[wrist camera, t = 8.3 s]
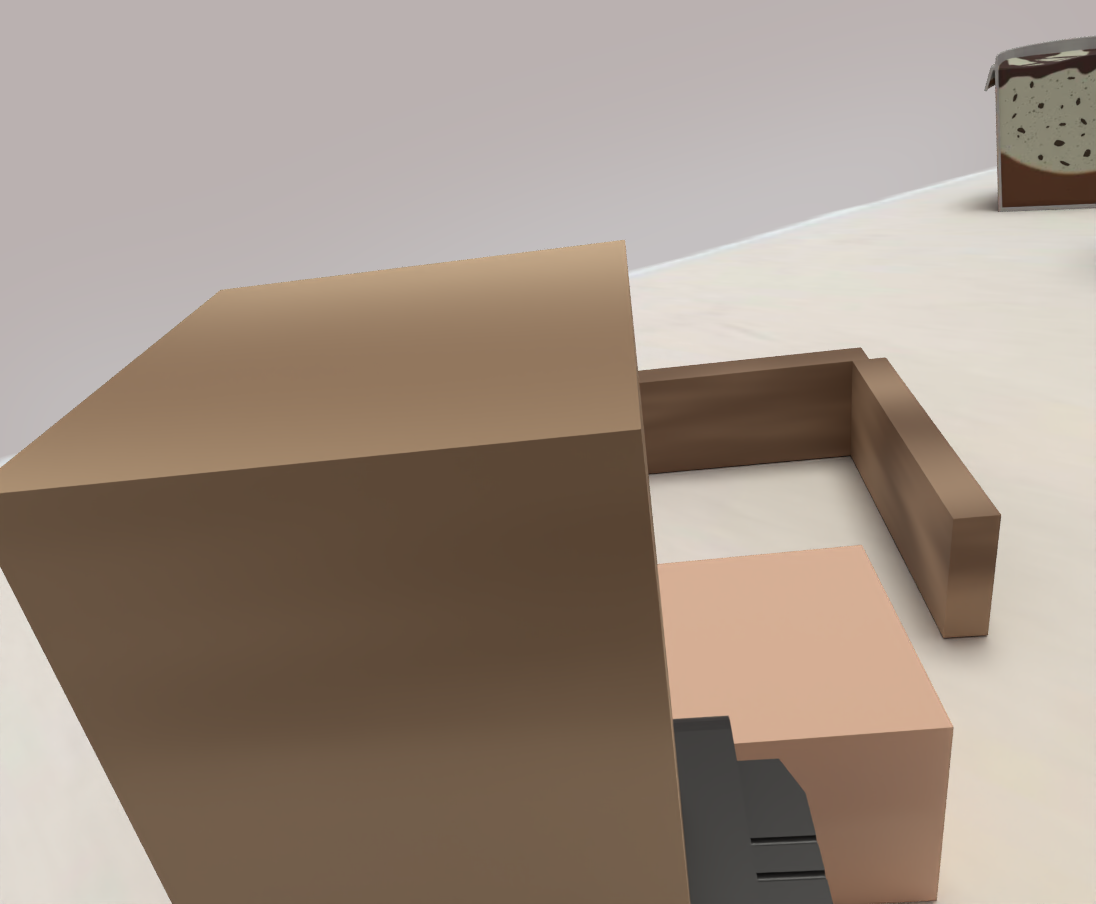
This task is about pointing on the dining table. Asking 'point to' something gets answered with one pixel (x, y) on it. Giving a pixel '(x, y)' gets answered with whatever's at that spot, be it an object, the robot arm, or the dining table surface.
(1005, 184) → the food container
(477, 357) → the wooden post on base
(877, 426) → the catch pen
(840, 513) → the dining table surface
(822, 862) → the robot arm
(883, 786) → the tile
